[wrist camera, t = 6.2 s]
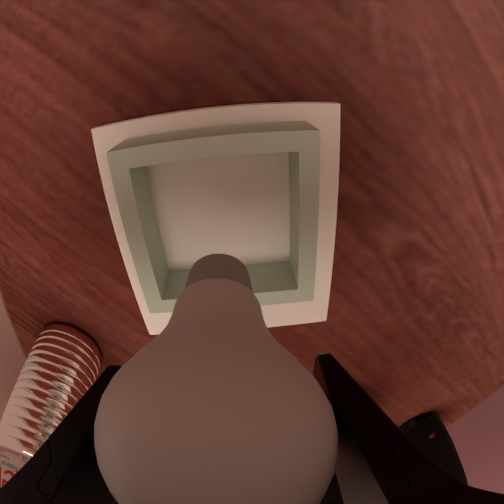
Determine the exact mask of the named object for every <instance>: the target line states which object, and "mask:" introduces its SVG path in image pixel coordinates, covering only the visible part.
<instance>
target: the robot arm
mask: <svg viewBox="0 0 504 504" xmlns="http://www.w3.org/2000/svg"><path fill="white" fill-rule="evenodd" d="M121 367H122V366H121V365H109V366H108V367H107V368H106V369H105V371H104V372H103V373H102V374H101V375H100V376H99V378H98V379H97V380H96V381H95V382H94V383H93V385H92V386H91V387H90V388H89V389H88V390H87V392H86V393H85V394H84V395H83V396H82V397H81V399H80V400H79V401H78V402H77V403H76V405H75V406H74V407H73V408H72V409H71V411H70V412H69V413H68V414H67V415H66V416H65V418H64V419H63V420H62V421H61V423H60V424H59V425H58V426H57V427H56V429H55V430H54V431H53V432H52V433H51V435H50V436H49V437H48V439H46V441H45V442H44V443H43V444H42V446H41V447H40V448H39V449H38V450H37V451H36V453H35V454H34V455H33V456H32V457H31V458H30V459H29V460H28V461H27V462H26V463H25V465H24V466H23V467H22V468H21V469H19V470H18V471H17V472H16V473H15V474H14V475H13V476H12V477H11V478H10V479H9V480H8V481H7V482H6V483H5V484H4V485H3V486H2V487H0V504H118V502H117V501H116V500H115V498H114V497H113V495H112V494H111V493H110V491H109V489H108V487H107V485H106V483H105V481H104V479H103V476H102V474H101V472H100V469H99V467H98V462H97V457H96V452H95V447H94V423H95V419H96V415H97V411H98V407H99V404H100V400H101V397H102V395H103V393H104V391H105V390H106V388H107V386H108V385H109V383H110V381H111V380H112V378H113V376H114V375H115V374H116V373H117V372H118V370H119V369H120V368H121ZM314 377H315V379H316V380H317V382H318V383H319V385H320V386H321V388H322V390H323V391H324V393H325V395H326V397H327V399H328V400H329V402H330V404H331V406H332V409H333V413H334V417H335V421H336V425H337V431H338V458H337V463H336V468H335V473H334V476H333V478H332V480H331V482H330V484H329V486H328V489H327V491H326V493H325V495H324V496H323V498H322V500H321V501H320V502H319V504H504V494H500V493H495V492H491V491H487V490H482V489H478V488H474V487H471V486H468V485H466V484H464V483H462V482H460V481H458V480H457V479H456V478H454V477H453V476H452V475H450V474H449V473H448V472H447V471H445V470H444V469H443V468H442V467H440V466H439V465H438V464H437V463H435V462H434V461H433V460H432V459H430V458H429V457H428V456H427V455H426V454H425V453H423V452H422V451H421V450H420V449H419V448H418V447H417V446H416V445H415V444H414V443H413V442H412V441H411V440H410V439H409V438H408V437H407V436H406V435H405V434H404V433H403V432H402V431H401V430H400V429H399V428H398V427H397V425H396V424H395V423H394V422H393V421H392V420H391V419H390V418H389V417H388V416H387V415H386V414H385V412H384V411H383V410H382V409H381V408H380V407H379V406H378V405H377V404H376V403H375V402H374V401H373V399H372V398H371V397H370V396H369V395H368V394H367V393H366V392H365V391H364V390H363V389H362V388H361V386H360V385H359V384H358V383H357V382H356V381H355V380H354V379H353V378H352V377H351V376H350V374H349V373H348V372H347V371H346V370H345V369H344V368H343V367H342V366H341V365H340V364H339V362H338V361H337V360H336V359H335V358H334V357H333V356H332V355H331V354H330V353H321V354H317V355H316V357H315V365H314ZM398 429H399V430H398Z"/></svg>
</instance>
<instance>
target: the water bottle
mask: <svg viewBox="0 0 504 504" xmlns="http://www.w3.org/2000/svg"><path fill="white" fill-rule="evenodd" d="M100 365H101V354H100V351H99V349H98V347H97V346H96V344H95V343H94V342H93V341H92V340H91V339H90V338H89V337H88V336H87V335H86V334H84V333H83V332H81V331H80V330H78V329H76V328H74V327H71V326H68V325H65V324H51V325H48V326H47V327H45V328H44V329H43V330H42V332H41V333H40V334H39V336H38V338H37V339H36V342H35V344H34V345H33V347H32V350H31V352H30V354H29V356H28V358H27V360H26V362H25V365H24V367H23V368H22V371H21V374H20V375H19V377H18V381H17V382H16V384H15V387H14V390H13V391H12V394H11V397H10V399H9V401H8V404H7V407H6V409H5V411H4V415H3V417H2V420H1V422H0V487H2V486H3V485H4V484H5V483H6V482H7V481H8V480H9V479H10V478H11V477H12V476H13V475H14V474H15V473H16V472H17V471H18V470H19V469H21V468H22V467H23V466H24V465H25V463H26V462H27V461H28V460H29V459H30V458H31V457H32V456H33V455H34V454H35V453H36V451H37V450H38V449H39V448H40V447H41V446H42V444H43V443H44V442H45V441H46V439H48V437H49V436H50V435H51V433H52V432H53V431H54V430H55V429H56V427H57V426H58V425H59V424H60V423H61V421H62V420H63V419H64V418H65V416H66V415H67V414H68V413H69V412H70V411H71V409H72V408H73V407H74V406H75V405H76V403H77V402H78V401H79V400H80V399H81V397H82V396H83V395H84V394H85V393H86V392H87V390H88V389H89V388H90V387H91V386H92V385H93V383H94V382H95V381H96V380H97V376H98V374H99V369H100Z"/></svg>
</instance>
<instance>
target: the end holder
mask: <svg viewBox="0 0 504 504" xmlns="http://www.w3.org/2000/svg"><path fill="white" fill-rule="evenodd" d="M91 131H92V137H93V142H94V147H95V152H96V157H97V162H98V167H99V171H100V176H101V180H102V184H103V188H104V193H105V197H106V201H107V205H108V208H109V212H110V216H111V220H112V223H113V227H114V230H115V234H116V237H117V241H118V244H119V248H120V251H121V254H122V257H123V260H124V264H125V267H126V270H127V273H128V276H129V279H130V282H131V285H132V288H133V291H134V294H135V296H136V299H137V302H138V305H139V308H140V310H141V313H142V316H143V318H144V321H145V324H146V326H147V329H148V331H149V334H150V335H155V334H160V333H161V332H162V331H163V330H164V328H165V327H166V326H167V324H168V322H169V320H170V318H171V316H172V313H173V310H174V306H175V303H176V301H177V299H178V297H179V295H180V294H181V293H182V292H183V291H184V289H185V286H186V282H187V278H188V275H189V273H190V270H191V268H192V266H193V265H194V263H195V262H196V261H197V260H199V259H200V258H202V257H204V256H206V255H210V254H217V253H219V254H227V255H231V256H233V257H235V258H237V259H238V260H240V261H241V262H242V263H243V264H244V265H245V267H246V268H247V270H248V273H249V277H250V280H251V286H252V290H253V293H254V295H255V296H256V298H257V299H258V301H259V303H260V306H261V310H262V314H263V319H264V322H265V324H266V326H267V327H277V326H286V325H296V324H304V323H313V322H321V321H326V319H327V311H328V303H329V295H330V286H331V277H332V267H333V256H334V245H335V232H336V219H337V203H338V184H339V160H340V103H337V102H269V103H251V104H237V105H225V106H215V107H205V108H197V109H189V110H182V111H175V112H168V113H162V114H156V115H150V116H144V117H139V118H134V119H128V120H124V121H119V122H114V123H110V124H105V125H101V126H97V127H95V128H93V129H91Z"/></svg>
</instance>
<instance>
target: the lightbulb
mask: <svg viewBox="0 0 504 504" xmlns="http://www.w3.org/2000/svg"><path fill="white" fill-rule="evenodd" d="M94 447H95V452H96V457H97V462H98V467H99V469H100V472H101V474H102V476H103V479H104V481H105V483H106V485H107V487H108V489H109V491H110V493H111V494H112V495H113V497H114V498H115V500H116V501H117V502H118V504H319V502H320V501H321V500H322V498H323V496H324V495H325V493H326V491H327V489H328V486H329V484H330V482H331V480H332V478H333V476H334V473H335V468H336V463H337V458H338V431H337V425H336V421H335V417H334V413H333V409H332V406H331V404H330V402H329V400H328V399H327V397H326V395H325V393H324V391H323V390H322V388H321V386H320V385H319V383H318V382H317V380H316V379H315V377H314V376H313V375H312V374H311V373H310V372H309V371H308V370H307V369H306V368H305V367H304V366H303V365H302V364H301V363H300V362H299V361H298V360H297V359H296V358H295V357H294V356H293V355H292V354H291V353H290V352H289V351H287V350H286V349H285V348H284V347H283V346H282V345H280V344H279V343H278V342H277V341H276V340H275V339H274V338H273V337H272V335H271V334H270V332H269V331H268V329H267V326H266V324H265V322H264V319H263V314H262V310H261V306H260V303H259V301H258V299H257V298H256V296H255V295H254V293H253V290H252V286H251V280H250V277H249V273H248V270H247V268H246V267H245V265H244V264H243V263H242V262H241V261H240V260H238V259H237V258H235V257H233V256H231V255H227V254H219V253H217V254H210V255H206V256H204V257H202V258H200V259H199V260H197V261H196V262H195V263H194V265H193V266H192V268H191V270H190V273H189V275H188V278H187V282H186V286H185V289H184V291H183V292H182V293H181V294H180V295H179V297H178V299H177V301H176V303H175V306H174V310H173V313H172V316H171V318H170V320H169V322H168V324H167V326H166V327H165V328H164V330H163V331H162V332H161V333H160V335H158V336H157V337H156V338H154V339H153V340H152V341H150V342H149V343H148V344H146V345H145V346H144V347H142V348H141V349H140V350H139V351H138V352H137V353H136V354H135V355H134V356H133V357H132V358H131V359H129V360H128V361H127V362H126V363H125V364H124V365H123V366H122V367H121V368H120V369H119V370H118V372H117V373H116V374H115V375H114V376H113V378H112V380H111V381H110V383H109V385H108V386H107V388H106V390H105V391H104V393H103V395H102V397H101V400H100V404H99V407H98V411H97V415H96V419H95V423H94Z"/></svg>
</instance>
